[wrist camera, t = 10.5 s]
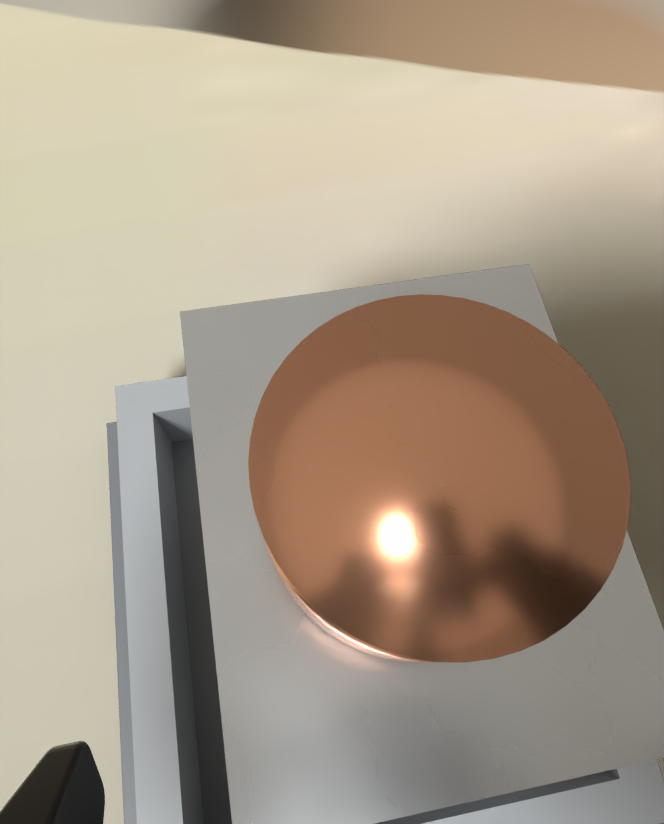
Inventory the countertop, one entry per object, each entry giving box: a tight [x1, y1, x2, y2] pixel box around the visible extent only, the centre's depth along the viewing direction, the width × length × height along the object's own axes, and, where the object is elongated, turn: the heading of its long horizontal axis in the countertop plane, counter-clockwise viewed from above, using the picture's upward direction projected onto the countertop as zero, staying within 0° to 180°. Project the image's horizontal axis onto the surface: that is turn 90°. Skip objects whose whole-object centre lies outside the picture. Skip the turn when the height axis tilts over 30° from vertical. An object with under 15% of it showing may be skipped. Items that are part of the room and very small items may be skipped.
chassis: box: [107, 376, 664, 824], centre depth 14 cm, size 22×21×7 cm
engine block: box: [180, 264, 664, 824], centre depth 12 cm, size 7×6×12 cm
